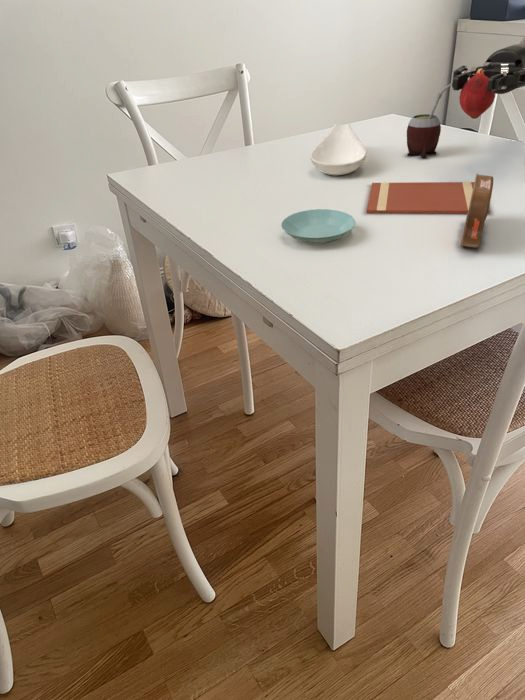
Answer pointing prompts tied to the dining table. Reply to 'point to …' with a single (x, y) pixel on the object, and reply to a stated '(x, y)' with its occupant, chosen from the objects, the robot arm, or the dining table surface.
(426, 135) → the mate gourd
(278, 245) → the dining table surface
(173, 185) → the dining table surface
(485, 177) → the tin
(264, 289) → the dining table surface
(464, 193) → the towel
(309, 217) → the saucer
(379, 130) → the dining table surface
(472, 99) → the red pomegranate
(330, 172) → the spoon rest
